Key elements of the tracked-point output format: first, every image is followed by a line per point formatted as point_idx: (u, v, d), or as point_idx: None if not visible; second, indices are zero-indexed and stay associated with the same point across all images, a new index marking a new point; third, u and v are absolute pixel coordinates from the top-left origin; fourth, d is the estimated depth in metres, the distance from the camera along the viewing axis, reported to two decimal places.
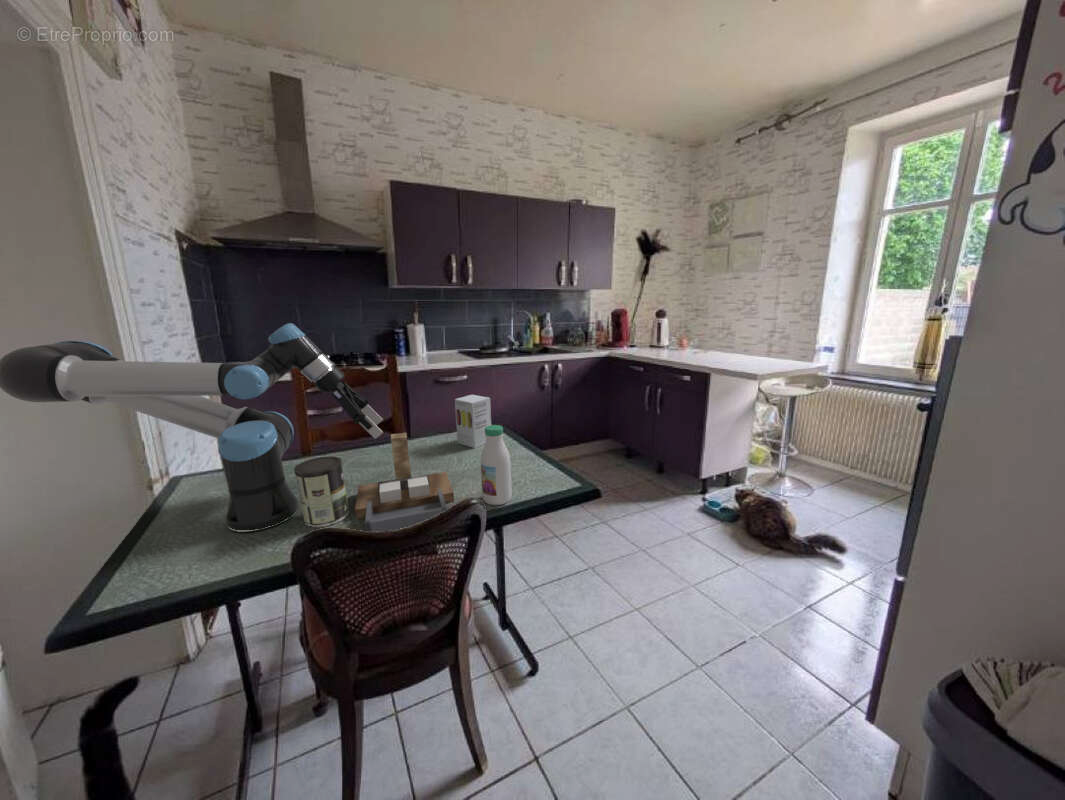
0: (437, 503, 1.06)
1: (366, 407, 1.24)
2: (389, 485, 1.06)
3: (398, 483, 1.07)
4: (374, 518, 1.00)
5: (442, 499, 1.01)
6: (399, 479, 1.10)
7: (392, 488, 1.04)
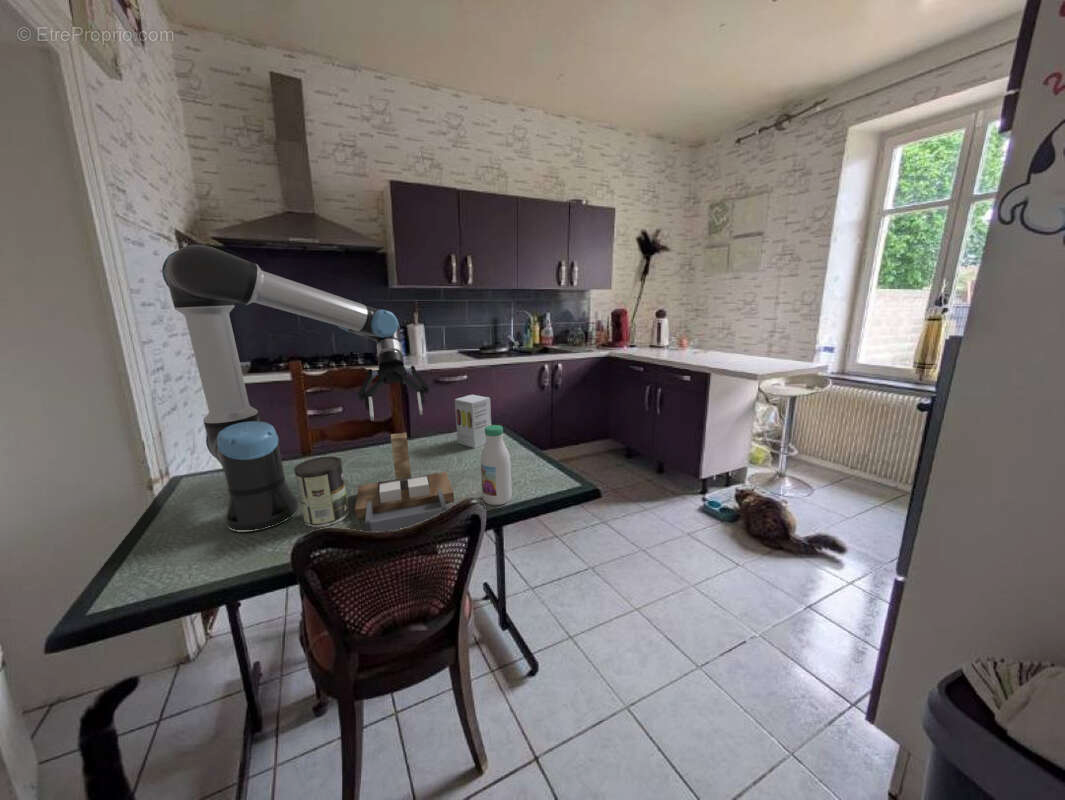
0: (437, 503, 1.06)
1: None
2: (389, 485, 1.06)
3: (398, 483, 1.07)
4: (374, 518, 1.00)
5: (442, 499, 1.01)
6: (399, 479, 1.10)
7: (392, 488, 1.04)
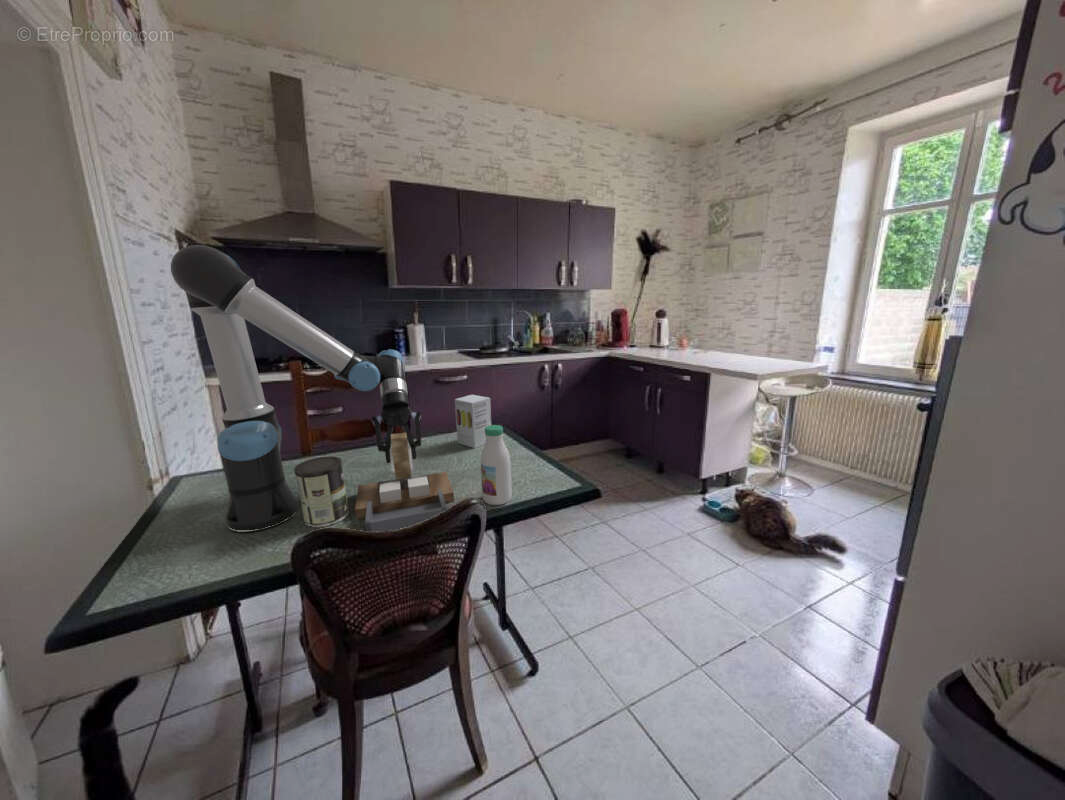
0: (437, 503, 1.06)
1: None
2: (389, 485, 1.06)
3: (398, 483, 1.07)
4: (374, 518, 1.00)
5: (442, 499, 1.01)
6: (399, 479, 1.10)
7: (392, 488, 1.04)
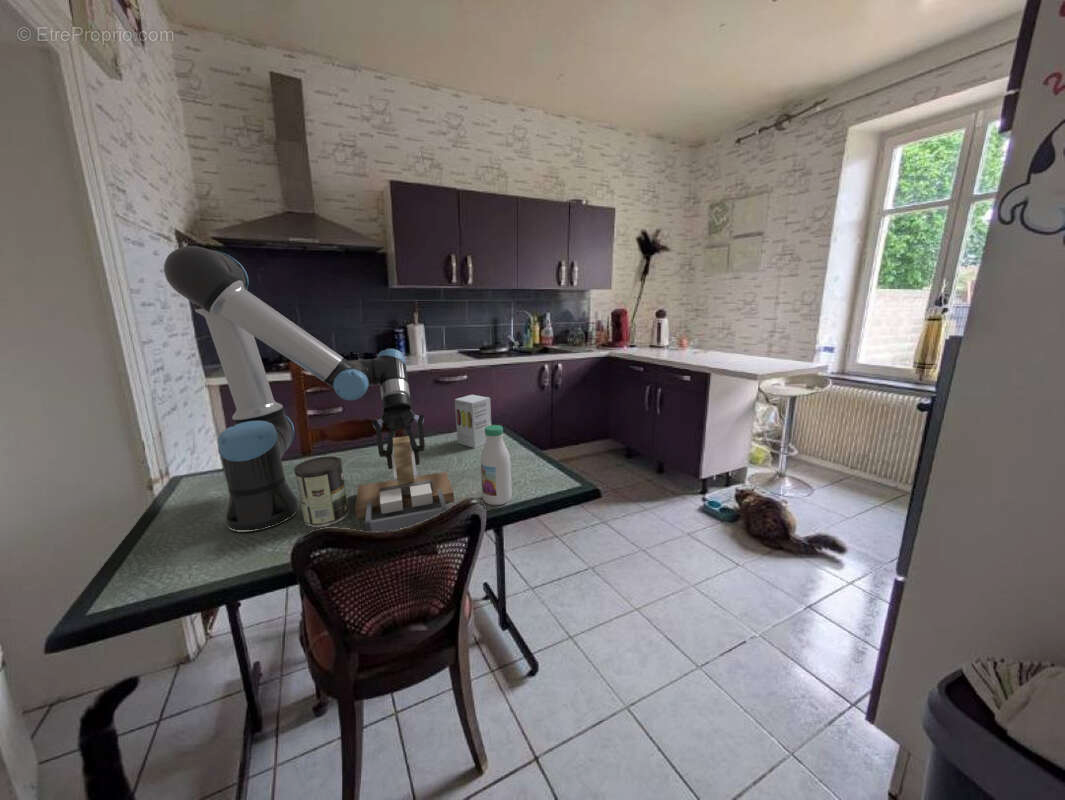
0: (437, 503, 1.06)
1: None
2: (390, 494, 1.01)
3: (399, 491, 1.02)
4: (374, 518, 1.00)
5: (442, 499, 1.01)
6: (401, 485, 1.05)
7: (393, 499, 1.00)
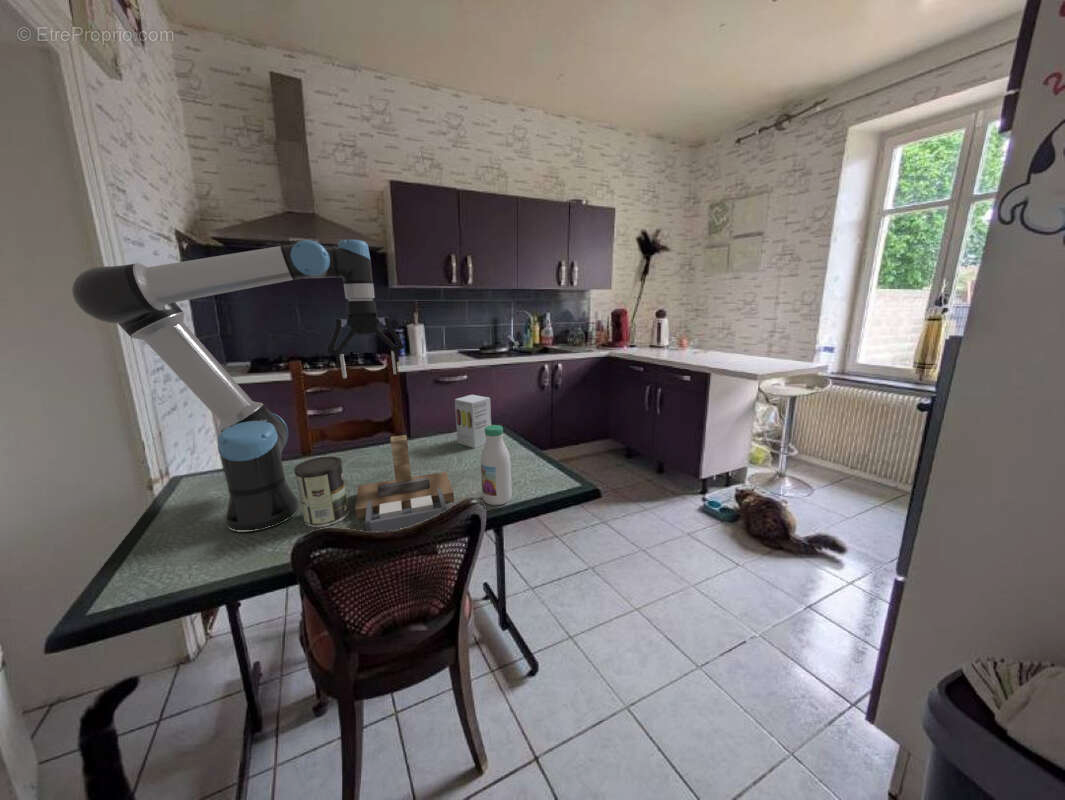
0: (437, 503, 1.06)
1: (343, 355, 1.16)
2: (390, 505, 0.99)
3: (399, 503, 1.00)
4: (374, 518, 1.00)
5: (442, 499, 1.01)
6: (399, 482, 1.08)
7: (393, 509, 0.98)
